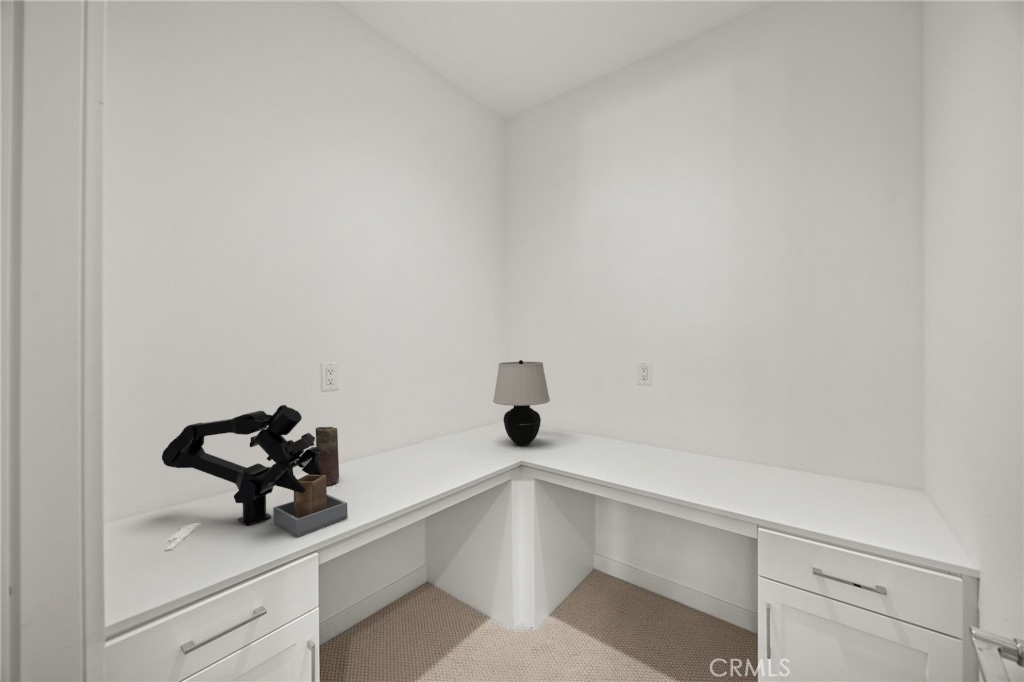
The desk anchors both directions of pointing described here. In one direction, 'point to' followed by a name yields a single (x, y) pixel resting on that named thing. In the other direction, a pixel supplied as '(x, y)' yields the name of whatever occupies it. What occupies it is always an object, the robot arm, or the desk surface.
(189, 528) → the white angle bracket
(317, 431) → the candle
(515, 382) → the table lamp
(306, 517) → the tray
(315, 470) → the robot arm
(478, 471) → the desk surface
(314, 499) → the walnut crate
